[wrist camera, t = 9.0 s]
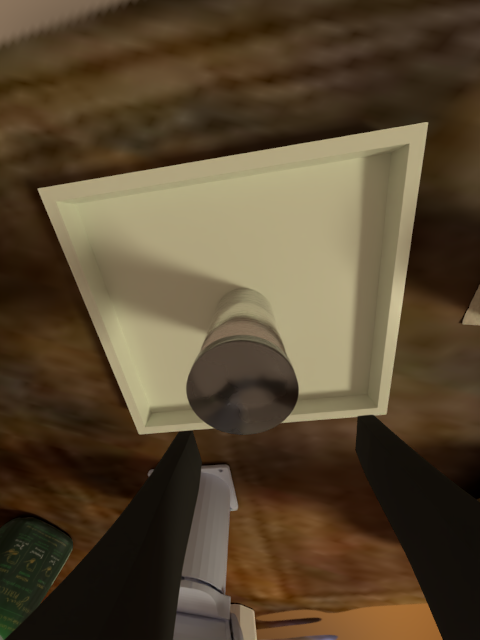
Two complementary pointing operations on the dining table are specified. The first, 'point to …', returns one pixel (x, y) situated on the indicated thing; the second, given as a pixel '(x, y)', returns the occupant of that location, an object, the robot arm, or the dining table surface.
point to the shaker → (242, 368)
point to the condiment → (473, 310)
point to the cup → (245, 620)
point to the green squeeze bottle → (28, 567)
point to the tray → (250, 266)
